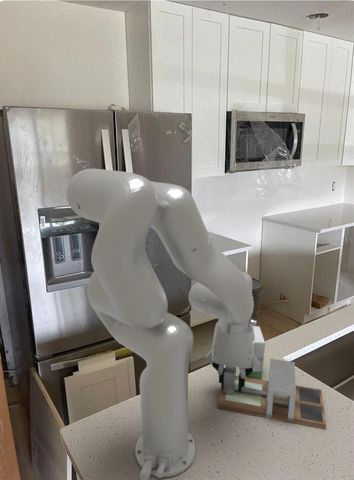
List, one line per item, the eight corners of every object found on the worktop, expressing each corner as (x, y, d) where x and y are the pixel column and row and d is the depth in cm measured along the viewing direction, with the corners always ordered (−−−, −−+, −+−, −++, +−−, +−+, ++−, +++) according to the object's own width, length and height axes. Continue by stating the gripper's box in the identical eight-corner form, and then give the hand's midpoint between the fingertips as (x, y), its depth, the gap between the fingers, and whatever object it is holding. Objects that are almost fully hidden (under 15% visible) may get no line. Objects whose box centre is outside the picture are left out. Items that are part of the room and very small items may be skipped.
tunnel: (293, 422, 85) (295, 393, 82) (266, 417, 86) (268, 389, 84) (292, 388, 96) (294, 362, 93) (268, 384, 97) (270, 358, 95)
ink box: (239, 361, 107) (240, 324, 104) (257, 361, 107) (259, 325, 104) (243, 380, 99) (245, 341, 96) (263, 380, 99) (265, 341, 95)
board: (325, 429, 83) (326, 424, 82) (217, 408, 89) (217, 404, 89) (320, 393, 94) (321, 389, 93) (224, 377, 100) (225, 373, 100)
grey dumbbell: (290, 407, 87) (292, 386, 85) (222, 395, 91) (223, 374, 89) (289, 390, 93) (291, 370, 91) (226, 379, 97) (226, 360, 95)
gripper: (270, 319, 89) (266, 382, 95) (203, 310, 94) (202, 372, 99) (269, 335, 82) (264, 403, 88) (196, 325, 87) (196, 390, 92)
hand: (231, 386), depth 93 cm, fingers closed on grey dumbbell, 3 cm apart
